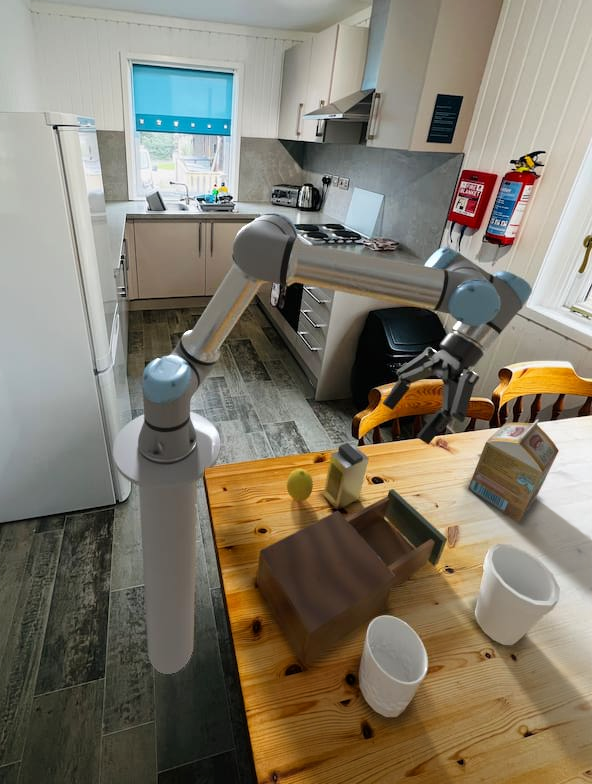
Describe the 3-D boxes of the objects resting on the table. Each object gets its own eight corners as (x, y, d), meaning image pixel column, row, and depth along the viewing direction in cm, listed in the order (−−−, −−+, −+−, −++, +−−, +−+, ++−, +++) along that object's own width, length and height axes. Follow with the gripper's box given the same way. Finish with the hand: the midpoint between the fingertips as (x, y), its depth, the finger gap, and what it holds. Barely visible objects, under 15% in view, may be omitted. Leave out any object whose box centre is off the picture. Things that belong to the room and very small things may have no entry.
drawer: (390, 509, 85) (396, 486, 82) (442, 560, 75) (451, 536, 72) (327, 544, 77) (332, 520, 74) (376, 607, 67) (384, 581, 64)
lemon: (287, 509, 85) (291, 481, 81) (283, 487, 90) (287, 461, 87) (312, 509, 85) (317, 481, 82) (307, 488, 90) (311, 461, 87)
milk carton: (486, 468, 98) (511, 406, 91) (535, 498, 91) (567, 432, 83) (468, 488, 92) (493, 423, 85) (519, 521, 85) (551, 453, 77)
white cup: (380, 644, 63) (393, 605, 59) (422, 702, 56) (441, 663, 52) (342, 672, 59) (354, 632, 55) (384, 738, 53) (400, 698, 49)
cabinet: (331, 541, 78) (338, 510, 75) (385, 608, 67) (395, 576, 64) (256, 582, 70) (259, 550, 67) (303, 667, 59) (311, 633, 56)
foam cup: (507, 595, 70) (532, 545, 65) (543, 658, 62) (576, 606, 57) (454, 592, 70) (475, 542, 65) (483, 654, 62) (510, 603, 57)
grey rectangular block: (322, 494, 88) (331, 449, 83) (344, 484, 92) (354, 439, 86) (336, 510, 85) (347, 464, 80) (359, 499, 88) (370, 453, 83)
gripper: (531, 375, 70) (455, 467, 72) (441, 332, 94) (386, 402, 96) (503, 354, 68) (426, 449, 71) (418, 316, 92) (364, 387, 95)
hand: (403, 422), depth 83 cm, fingers open, 13 cm apart
